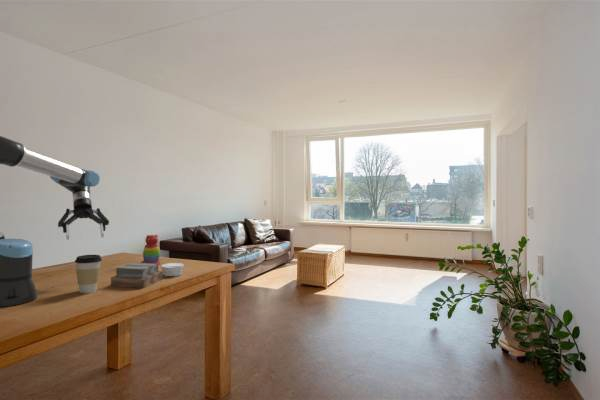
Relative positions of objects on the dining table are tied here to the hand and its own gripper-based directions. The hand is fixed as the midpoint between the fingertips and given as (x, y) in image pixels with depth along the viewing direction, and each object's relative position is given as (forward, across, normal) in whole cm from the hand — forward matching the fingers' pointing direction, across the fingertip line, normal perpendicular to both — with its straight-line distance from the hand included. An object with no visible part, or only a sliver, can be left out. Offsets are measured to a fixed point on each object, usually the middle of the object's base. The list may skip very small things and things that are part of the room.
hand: (85, 236), depth 154 cm
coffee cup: (+25, 0, -6) cm, 26 cm away
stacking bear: (-4, -36, -36) cm, 51 cm away
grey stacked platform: (+23, -20, -9) cm, 32 cm away
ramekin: (+18, -39, -14) cm, 45 cm away
